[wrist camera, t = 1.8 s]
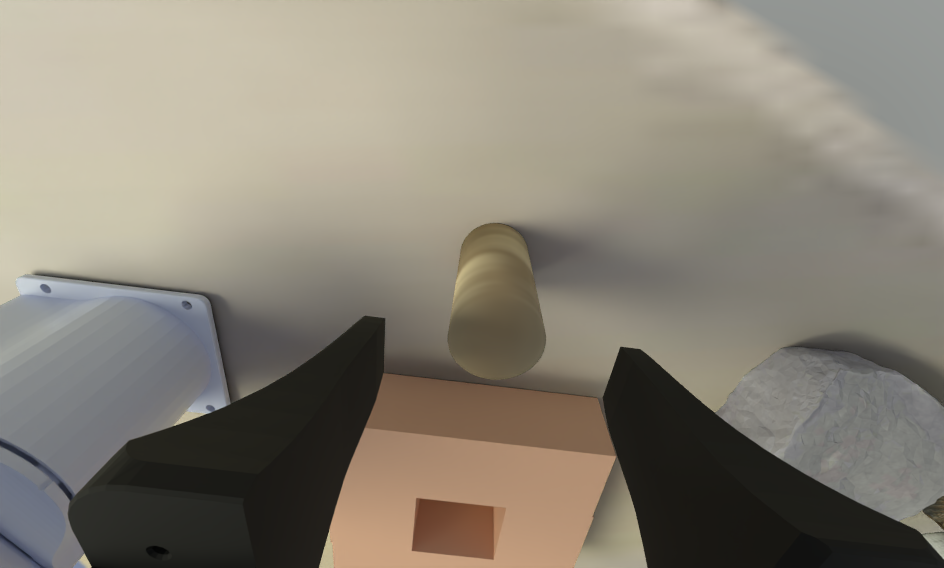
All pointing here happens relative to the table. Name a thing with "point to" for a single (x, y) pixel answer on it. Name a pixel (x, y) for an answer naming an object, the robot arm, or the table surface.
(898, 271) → the table surface
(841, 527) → the robot arm
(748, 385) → the stone block
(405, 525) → the socket
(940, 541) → the eagle figurine
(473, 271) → the peg
